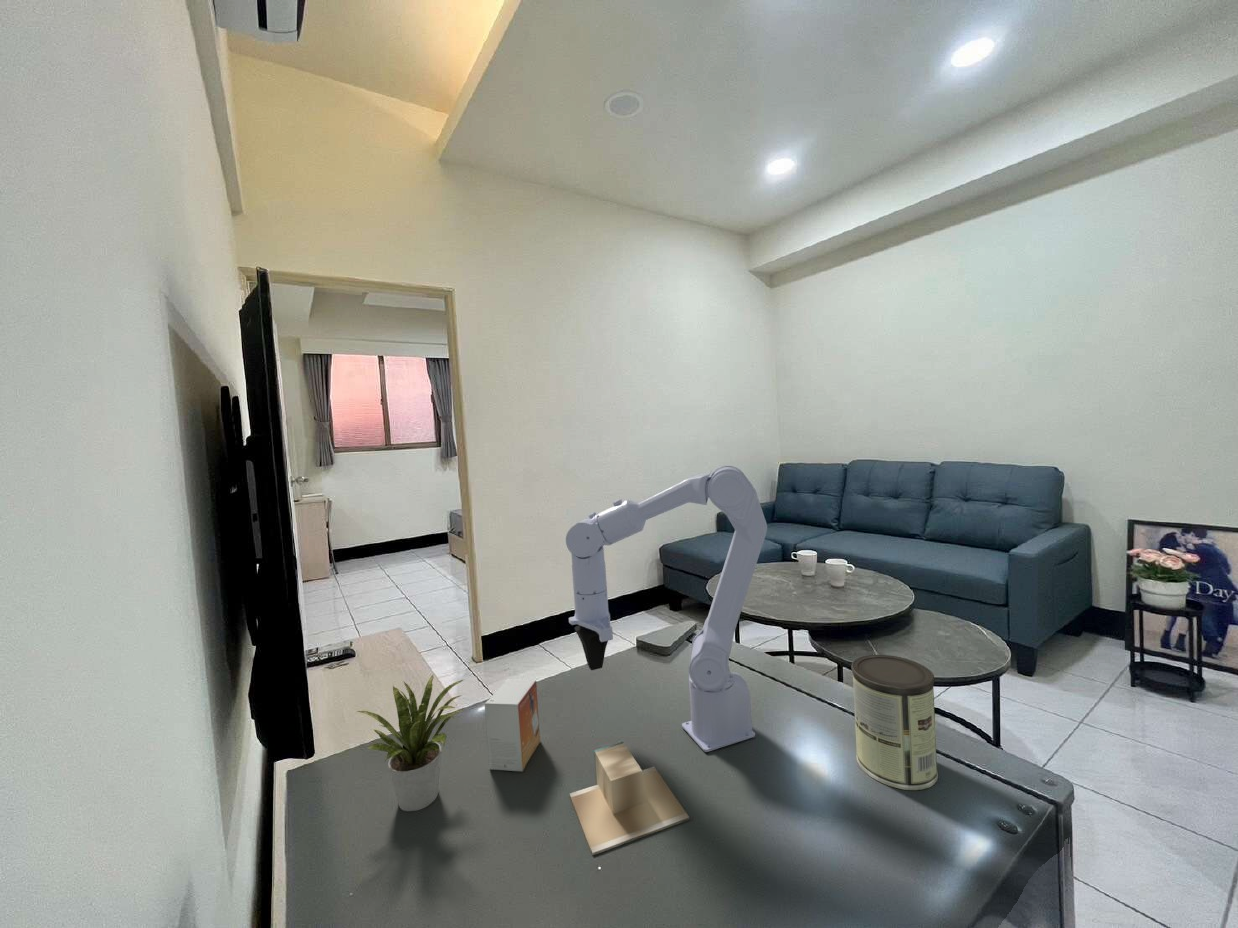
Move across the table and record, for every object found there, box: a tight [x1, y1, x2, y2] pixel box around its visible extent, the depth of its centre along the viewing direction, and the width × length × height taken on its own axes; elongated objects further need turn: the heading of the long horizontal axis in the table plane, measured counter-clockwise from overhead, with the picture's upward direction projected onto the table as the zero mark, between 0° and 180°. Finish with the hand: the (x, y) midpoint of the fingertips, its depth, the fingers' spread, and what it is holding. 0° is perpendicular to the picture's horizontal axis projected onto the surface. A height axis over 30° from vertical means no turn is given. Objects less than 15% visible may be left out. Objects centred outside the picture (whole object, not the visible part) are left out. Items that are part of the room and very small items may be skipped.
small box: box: [484, 678, 541, 772], centre depth 77 cm, size 8×6×10 cm
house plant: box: [356, 674, 466, 812], centre depth 69 cm, size 14×14×16 cm
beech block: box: [593, 741, 644, 814], centre depth 67 cm, size 4×4×7 cm
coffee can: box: [850, 654, 939, 791], centre depth 69 cm, size 10×10×14 cm
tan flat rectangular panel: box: [569, 766, 690, 856], centre depth 65 cm, size 13×11×1 cm
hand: (595, 667), depth 84 cm, fingers closed
